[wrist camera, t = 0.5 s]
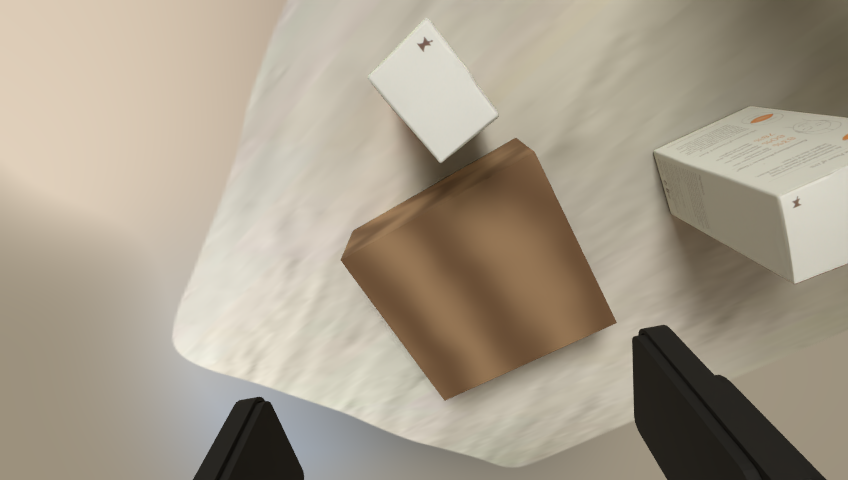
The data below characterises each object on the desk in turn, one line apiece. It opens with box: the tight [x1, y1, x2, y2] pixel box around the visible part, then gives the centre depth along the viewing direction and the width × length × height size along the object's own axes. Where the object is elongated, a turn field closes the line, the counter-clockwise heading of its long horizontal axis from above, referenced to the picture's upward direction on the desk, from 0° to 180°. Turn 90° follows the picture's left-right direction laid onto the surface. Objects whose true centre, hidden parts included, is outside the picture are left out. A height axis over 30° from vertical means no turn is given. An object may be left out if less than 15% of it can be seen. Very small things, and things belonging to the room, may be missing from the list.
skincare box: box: [368, 18, 499, 163], centre depth 26 cm, size 6×4×12 cm
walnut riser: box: [341, 138, 617, 400], centre depth 35 cm, size 16×16×6 cm
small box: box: [654, 106, 848, 284], centre depth 28 cm, size 8×6×13 cm
